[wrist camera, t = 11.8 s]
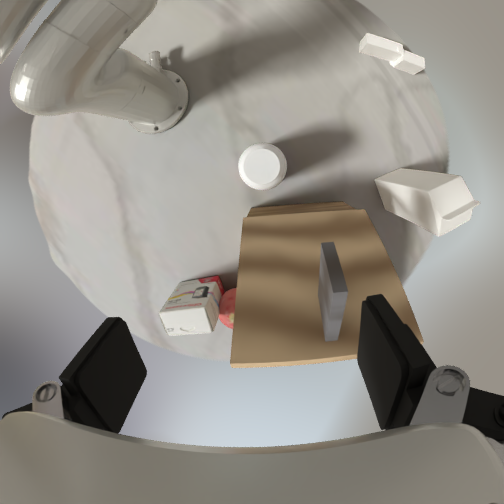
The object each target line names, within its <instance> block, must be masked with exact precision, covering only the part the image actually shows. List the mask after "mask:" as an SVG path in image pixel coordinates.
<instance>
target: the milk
mask: <svg viewBox="0 0 504 504" xmlns="http://www.w3.org/2000/svg"><path fill="white" fill-rule="evenodd" d="M374 180H375V183H376V186H377V188H378V191H379V194H380V197H381V200H382V203H383V206H384V208H385V210H387V211H389V212H392V213H394V214H396V215H398V216H400V217H402V218H404V219H406V220H408V221H410V222H412V223H414V224H416V225H418V226H420V227H422V228H423V229H425V230H427V231H429V232H431V233H433V234H435V235H437V236H438V237H440V236H442V235H443V234H445V233H447V232H449V231H451V230H453V229H454V228H456V227H458V226H460V225H462V224H463V223H465V222H467V221H469V220H470V219H471V215H472V210H473V208H474V207H476V206H477V205H479V204H480V202H479V201H475V200H474V199H473V197H472V195H471V193H470V191H469V189H468V187H467V186H466V184H465V182H464V180H463V179H462V177H461V176H458V175H451V174H445V173H437V172H430V171H422V170H413V169H403V168H399V169H397V170H395V171H392V172H390V173H388V174H385V175H383V176H380V177H378V178H376V179H374Z"/></svg>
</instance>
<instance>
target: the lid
mask: <svg viewBox="0 0 504 504" xmlns="http://www.w3.org/2000/svg"><path fill="white" fill-rule="evenodd" d="M377 294H382V295H383V296H384V297H385V298H386V300H387V301H388V302H389V304H390V305H391V307H392V308H393V309H394V311H395V312H396V314H397V315H398V316H399V318H400V319H401V321H402V322H403V324H407V325H408V326H409V327H410V329H411V330H412V331H413V333H414V334H415V336H416V337H417V339H418V340H419V342H420V343H421V345H422V344H423V342H424V341H423V338H422V335H421V333H420V330H419V327H418V324H417V322H416V319H415V317H414V314H413V311H412V309H411V306H410V304H409V301H408V299H407V296H406V294H405V291H404V289H403V287H402V284H401V282H400V280H399V277H398V275H397V273H396V271H395V269H394V266H393V264H392V262H391V260H390V258H389V256H388V254H387V252H386V249H385V247H384V245H383V243H382V241H381V239H380V237H379V235H378V233H377V232H376V230H375V228H374V226H373V224H372V222H371V220H370V218H369V216H368V215H367V213H366V211H365V209H360V210H341V211H324V212H309V213H295V214H282V215H269V216H258V217H246V218H243V225H242V236H241V246H240V257H239V268H238V278H237V289H236V301H235V312H234V324H233V335H232V347H231V359H230V364H231V367H232V368H249V367H250V368H251V367H276V366H292V365H305V364H316V363H325V362H334V361H342V360H350V359H357V353H358V344H359V333H360V321H361V307H362V301H364V300H366V298H367V296H371V295H377Z"/></svg>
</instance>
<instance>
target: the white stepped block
mask: <svg viewBox="0 0 504 504" xmlns="http://www.w3.org/2000/svg"><path fill="white" fill-rule="evenodd" d="M359 53H363V54H366V55H370V56H374V57H377V58H380V59H383V60H387V61H390V65H392V66H393V68H396V69H399V70H402V71H405V72H407V73H410V74H413V75H414V74H416V73H418V72H420V71H422V70H423V69H425V58H423V57H421V56H418V55H416V54H414V53H411V52H408V51H406V50H404V49H403V44H400V43H397V42H394V41H391V40H389V39H386V38H382V37H379V36H376V35H373V34H369V33H366V35H365V36H364V37H363V39H362V40H361V41H360V43H359Z"/></svg>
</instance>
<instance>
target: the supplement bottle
mask: <svg viewBox="0 0 504 504" xmlns="http://www.w3.org/2000/svg"><path fill="white" fill-rule="evenodd" d="M238 168H239V173H240V176H241V178H242V179H243V181H244V182H245V183H246V184H247V185H248V186H250V187H252V188H254V189H257V190H268V189H272V188H274V187H276V186H277V185H278V184H280V183H281V181H282V180H283V179H284V177H285V174H286V171H287V162H286V158H285V156H284V154H283V153H282V152H281V150H280V149H278V148H277V147H276V146H274V145H272V144H269V143H256V144H253V145H251V146H249V147H248V148H247V149H246V150H245V151H244V152H243V153H242V155H241V157H240V159H239V165H238Z"/></svg>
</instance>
